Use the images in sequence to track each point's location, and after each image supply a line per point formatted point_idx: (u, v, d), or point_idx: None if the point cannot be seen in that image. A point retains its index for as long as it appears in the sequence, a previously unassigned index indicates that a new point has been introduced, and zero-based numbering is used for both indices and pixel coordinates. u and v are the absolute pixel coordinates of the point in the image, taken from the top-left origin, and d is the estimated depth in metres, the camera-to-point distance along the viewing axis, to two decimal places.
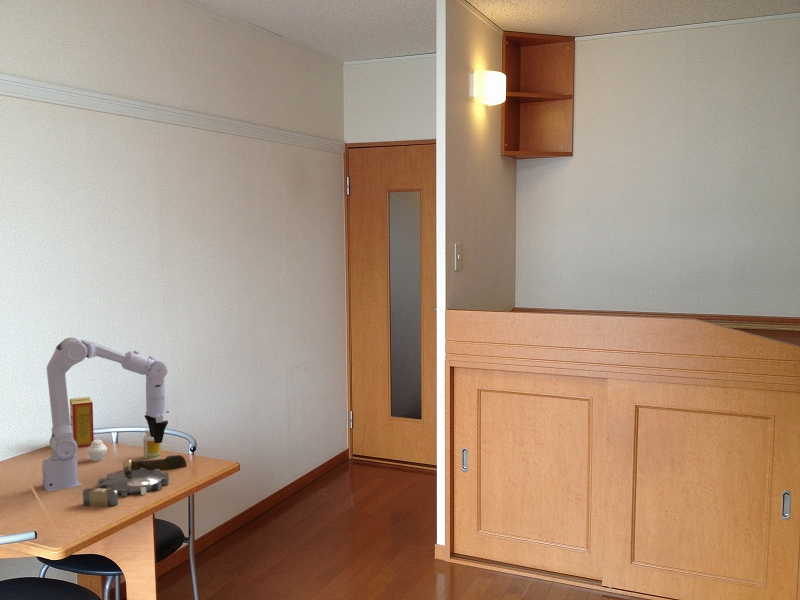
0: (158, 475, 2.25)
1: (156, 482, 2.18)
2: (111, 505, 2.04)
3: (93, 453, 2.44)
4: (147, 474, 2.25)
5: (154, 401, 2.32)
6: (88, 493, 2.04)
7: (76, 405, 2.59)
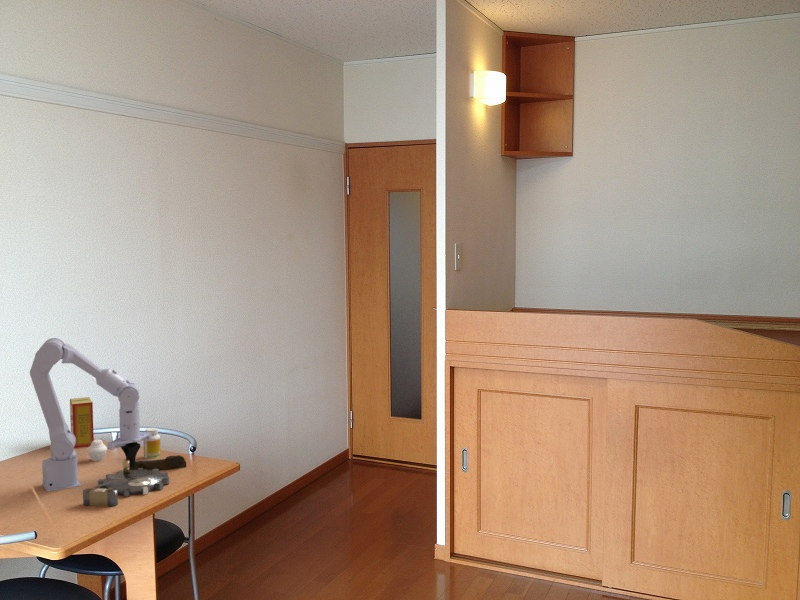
0: (158, 474, 2.25)
1: (157, 481, 2.19)
2: (111, 505, 2.04)
3: (93, 453, 2.44)
4: (146, 474, 2.25)
5: (120, 426, 2.25)
6: (88, 493, 2.04)
7: (76, 405, 2.59)
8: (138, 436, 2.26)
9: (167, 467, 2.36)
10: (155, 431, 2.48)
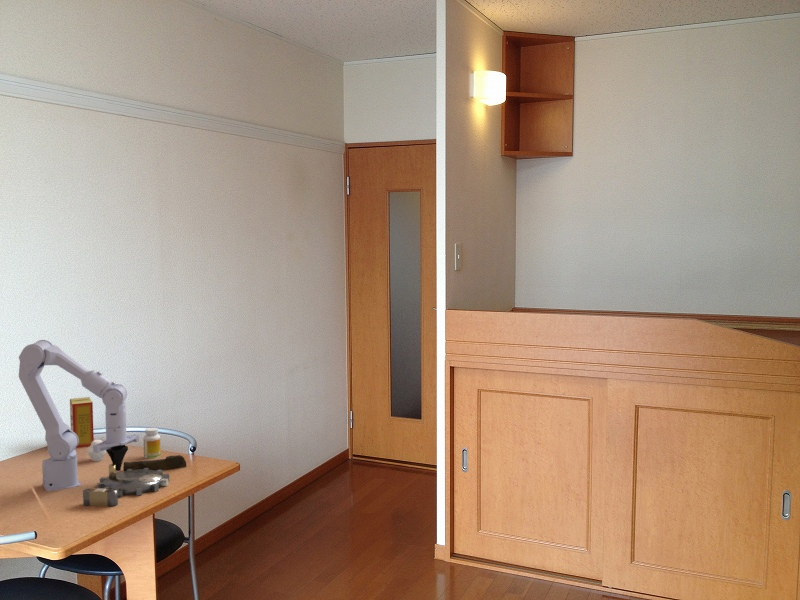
0: (146, 470, 2.28)
1: (162, 474, 2.26)
2: (111, 505, 2.04)
3: (93, 453, 2.44)
4: (135, 473, 2.26)
5: (106, 429, 2.20)
6: (88, 493, 2.04)
7: (76, 405, 2.59)
8: (125, 439, 2.22)
9: (167, 467, 2.36)
10: (155, 431, 2.48)
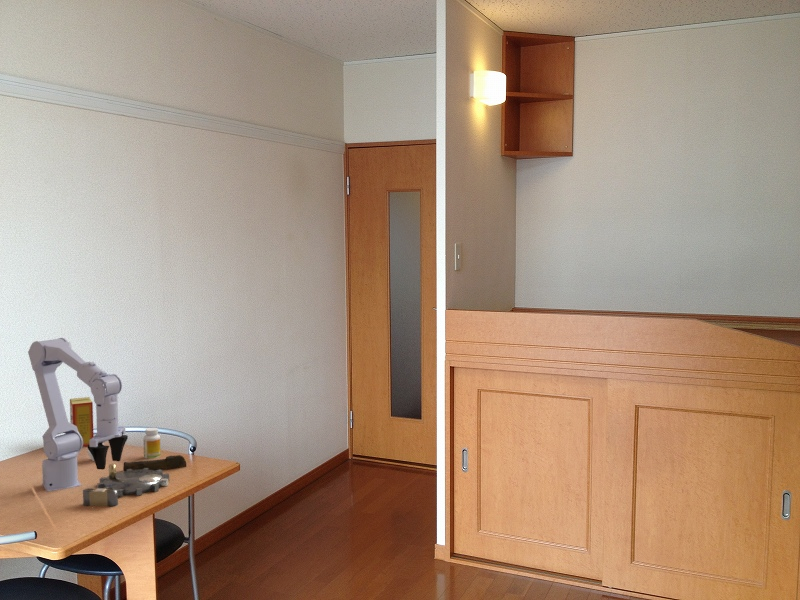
0: (146, 470, 2.28)
1: (162, 474, 2.26)
2: (111, 505, 2.04)
3: None
4: (135, 473, 2.26)
5: (99, 422, 2.08)
6: (88, 493, 2.04)
7: (76, 405, 2.59)
8: (118, 431, 2.12)
9: (167, 467, 2.36)
10: (155, 431, 2.48)
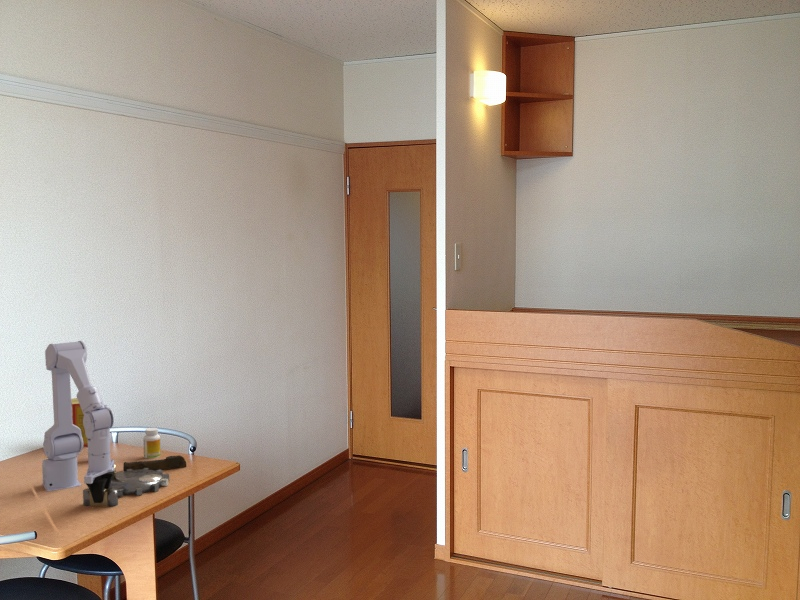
0: (146, 470, 2.28)
1: (162, 474, 2.26)
2: (111, 505, 2.04)
3: None
4: (135, 473, 2.26)
5: (92, 457, 2.02)
6: (88, 493, 2.04)
7: (76, 405, 2.59)
8: (110, 465, 2.06)
9: (167, 467, 2.36)
10: (155, 431, 2.48)
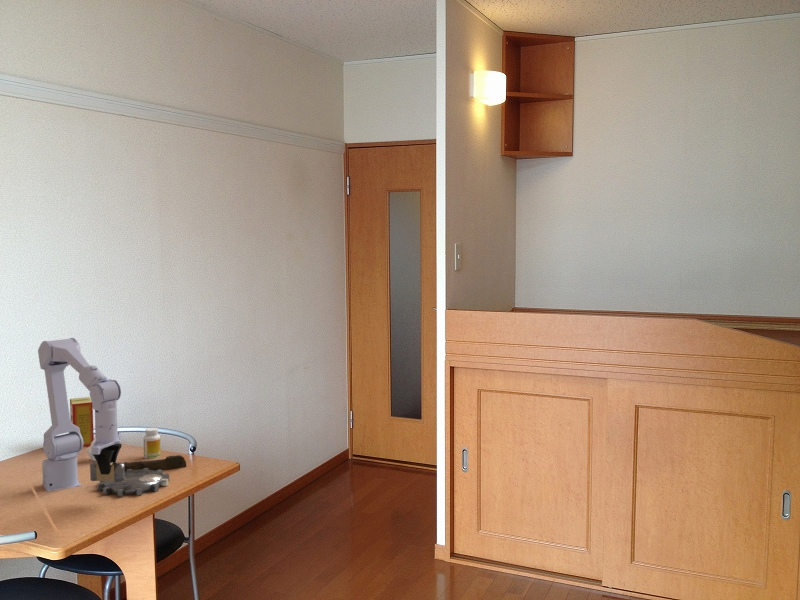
0: (146, 470, 2.28)
1: (162, 474, 2.26)
2: (118, 478, 2.06)
3: None
4: (135, 473, 2.26)
5: (99, 429, 2.03)
6: (95, 466, 2.06)
7: (76, 405, 2.59)
8: (117, 437, 2.07)
9: (167, 467, 2.36)
10: (155, 431, 2.48)
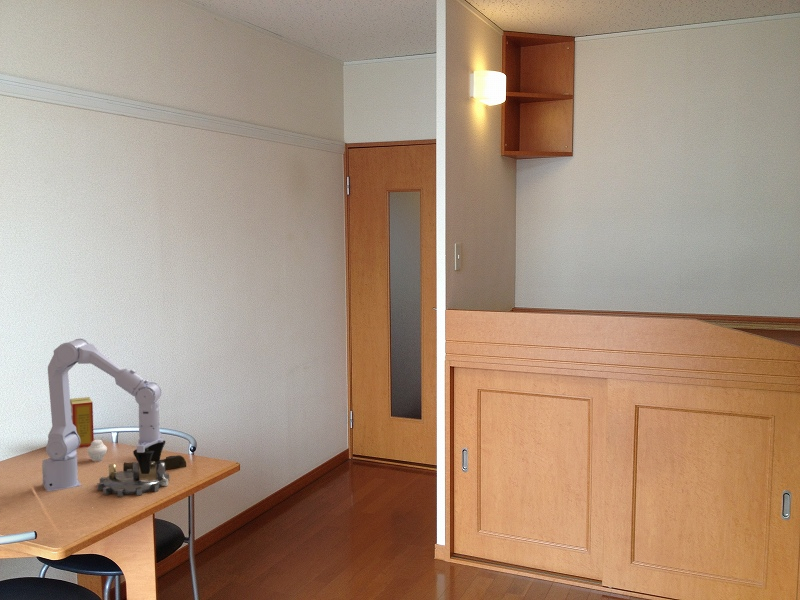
0: None
1: None
2: (159, 476, 2.20)
3: (93, 453, 2.44)
4: None
5: (143, 428, 2.17)
6: (138, 465, 2.20)
7: (76, 405, 2.59)
8: (159, 436, 2.21)
9: (167, 467, 2.36)
10: None
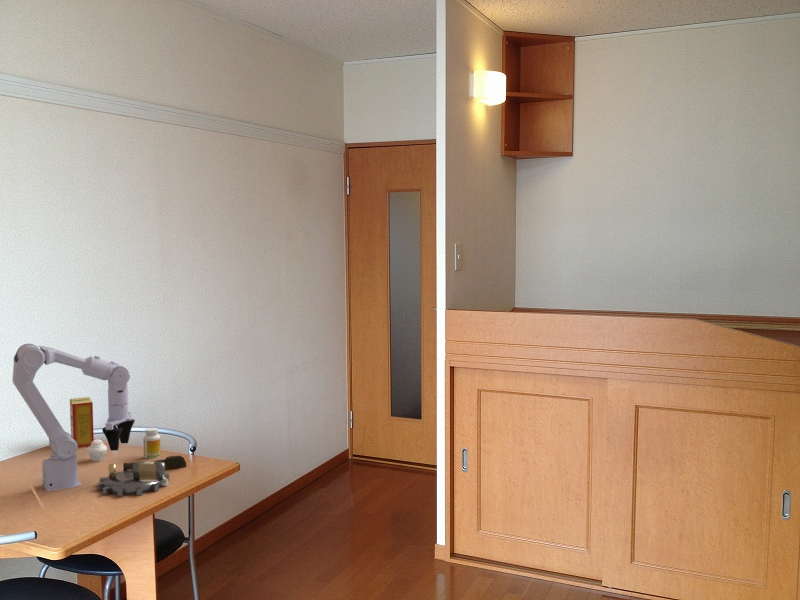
0: None
1: None
2: (159, 476, 2.20)
3: (93, 453, 2.44)
4: None
5: (112, 407, 2.26)
6: (138, 465, 2.20)
7: (76, 405, 2.59)
8: (128, 415, 2.30)
9: (167, 467, 2.36)
10: (155, 431, 2.48)
